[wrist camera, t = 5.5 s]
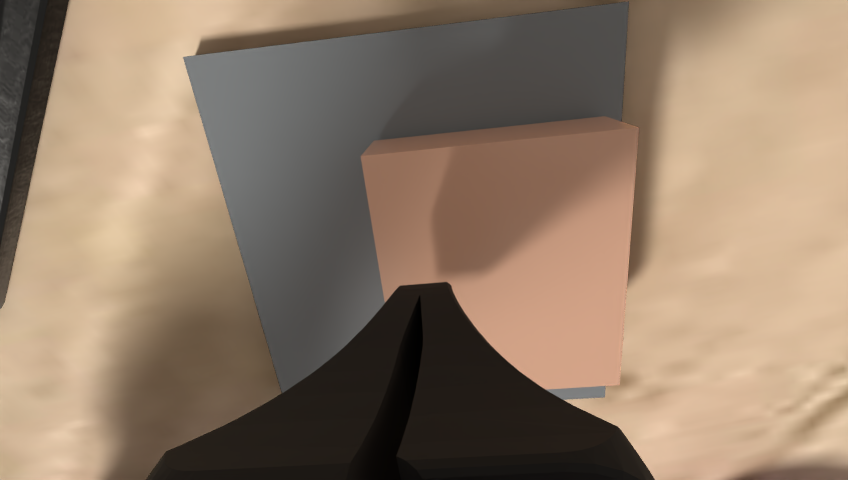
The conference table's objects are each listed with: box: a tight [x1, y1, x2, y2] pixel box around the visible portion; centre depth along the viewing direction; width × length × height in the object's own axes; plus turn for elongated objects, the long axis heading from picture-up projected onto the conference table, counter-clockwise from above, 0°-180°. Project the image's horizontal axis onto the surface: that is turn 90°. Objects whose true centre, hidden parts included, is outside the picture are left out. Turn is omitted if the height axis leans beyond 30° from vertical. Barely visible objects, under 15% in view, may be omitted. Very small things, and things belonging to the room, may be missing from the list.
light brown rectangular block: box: [361, 116, 639, 390], centre depth 14 cm, size 8×3×7 cm
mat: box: [183, 2, 629, 400], centre depth 15 cm, size 14×13×1 cm
